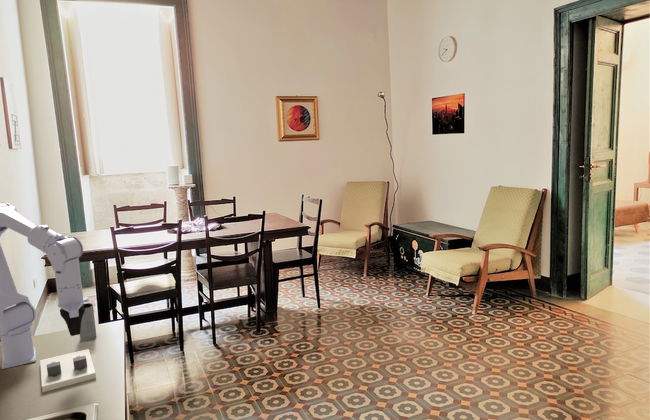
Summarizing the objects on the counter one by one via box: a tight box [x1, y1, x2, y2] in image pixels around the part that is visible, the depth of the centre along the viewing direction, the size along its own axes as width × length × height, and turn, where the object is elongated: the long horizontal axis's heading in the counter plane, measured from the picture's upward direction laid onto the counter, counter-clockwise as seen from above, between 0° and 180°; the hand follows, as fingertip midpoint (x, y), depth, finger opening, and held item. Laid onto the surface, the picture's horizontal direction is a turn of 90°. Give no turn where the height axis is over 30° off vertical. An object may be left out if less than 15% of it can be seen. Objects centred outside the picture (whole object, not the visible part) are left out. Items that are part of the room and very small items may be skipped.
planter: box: [79, 302, 97, 342], centre depth 148 cm, size 4×4×10 cm
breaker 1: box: [47, 362, 61, 377], centre depth 124 cm, size 2×3×2 cm, turn 121°
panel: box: [39, 348, 97, 393], centre depth 128 cm, size 16×12×2 cm
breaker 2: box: [73, 356, 87, 370], centre depth 127 cm, size 2×3×2 cm, turn 121°
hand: (75, 334), depth 127 cm, fingers closed
